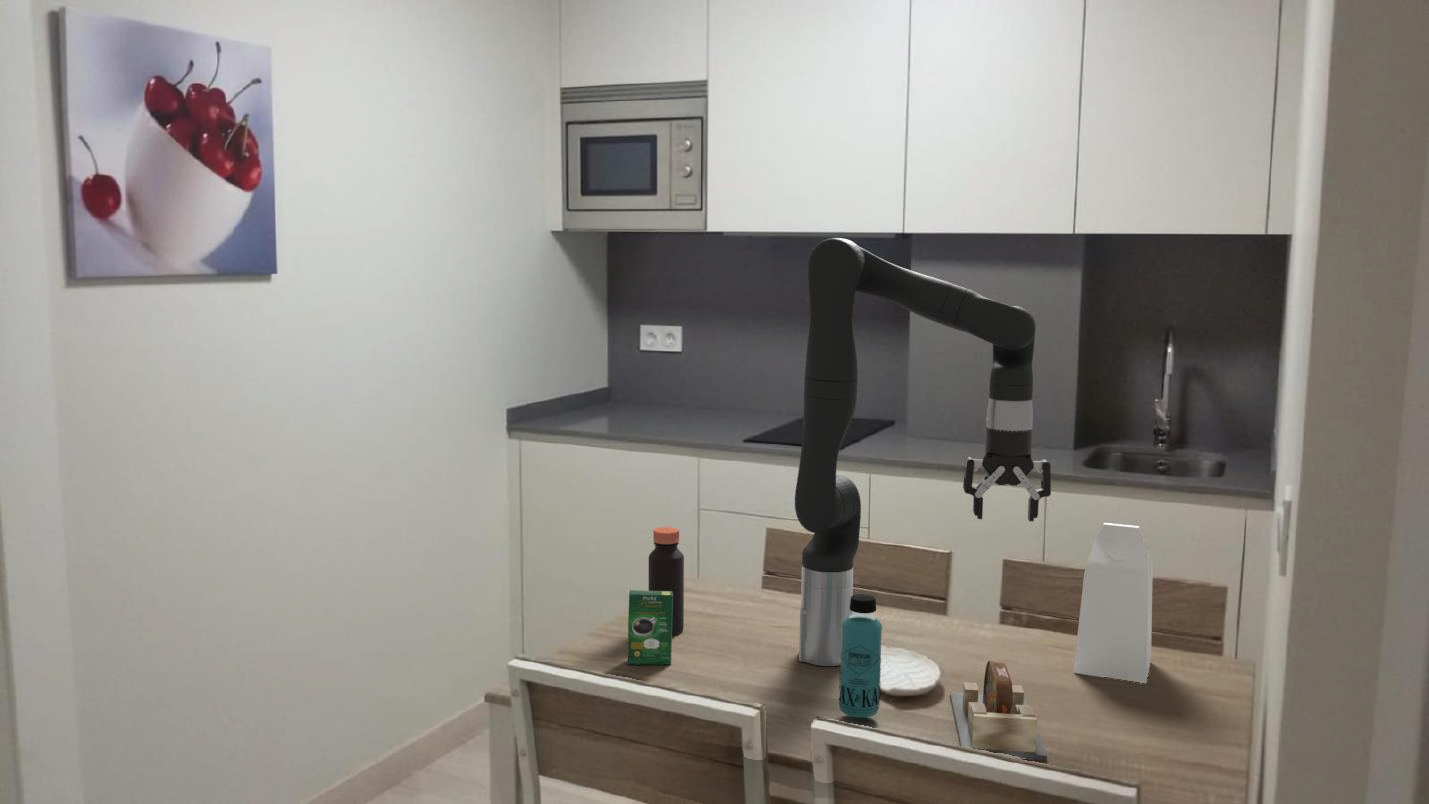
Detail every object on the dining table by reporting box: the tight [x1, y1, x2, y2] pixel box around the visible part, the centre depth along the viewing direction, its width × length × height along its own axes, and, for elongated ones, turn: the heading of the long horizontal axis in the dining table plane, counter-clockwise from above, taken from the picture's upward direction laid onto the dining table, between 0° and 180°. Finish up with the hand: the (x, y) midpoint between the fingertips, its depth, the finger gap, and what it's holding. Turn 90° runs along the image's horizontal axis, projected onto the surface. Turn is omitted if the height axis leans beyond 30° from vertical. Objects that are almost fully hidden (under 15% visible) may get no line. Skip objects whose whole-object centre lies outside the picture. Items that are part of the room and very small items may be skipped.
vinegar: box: [648, 526, 685, 637], centre depth 215 cm, size 7×7×20 cm
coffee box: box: [627, 589, 673, 666], centre depth 198 cm, size 8×3×13 cm, turn 92°
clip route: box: [949, 681, 1048, 762], centre depth 173 cm, size 12×22×6 cm, turn 173°
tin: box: [982, 660, 1013, 714], centre depth 173 cm, size 15×3×8 cm, turn 172°
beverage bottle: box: [837, 593, 883, 718], centre depth 175 cm, size 6×7×20 cm
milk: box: [1073, 522, 1154, 685], centre depth 197 cm, size 12×12×26 cm
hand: (1005, 519), depth 190 cm, fingers open, 8 cm apart
